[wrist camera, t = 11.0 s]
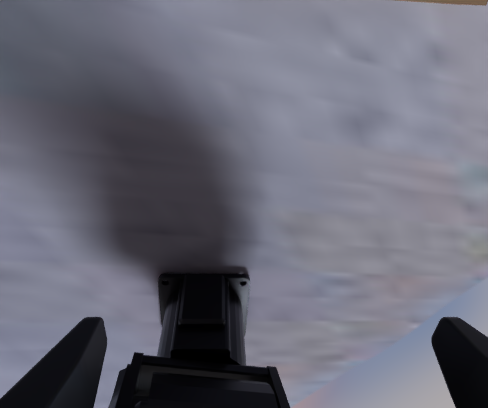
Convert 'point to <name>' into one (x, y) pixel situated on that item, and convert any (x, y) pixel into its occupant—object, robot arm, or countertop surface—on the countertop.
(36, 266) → the countertop surface
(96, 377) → the robot arm
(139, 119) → the countertop surface
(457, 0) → the tower base block
